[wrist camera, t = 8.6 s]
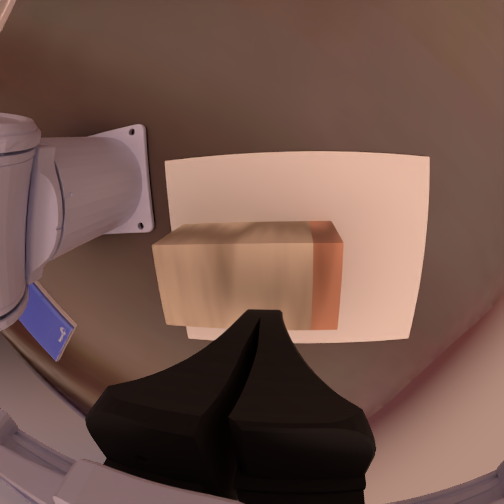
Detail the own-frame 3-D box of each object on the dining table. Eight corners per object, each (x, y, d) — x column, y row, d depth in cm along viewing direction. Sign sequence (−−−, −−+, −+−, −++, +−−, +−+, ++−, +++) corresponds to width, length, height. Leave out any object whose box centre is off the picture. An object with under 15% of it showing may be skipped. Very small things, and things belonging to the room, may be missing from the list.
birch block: (329, 291, 20) (191, 289, 22) (331, 220, 19) (183, 224, 20) (337, 329, 15) (166, 324, 17) (343, 242, 14) (151, 245, 15)
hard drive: (72, 330, 25) (4, 248, 23) (55, 363, 28) (-4, 291, 26) (80, 322, 26) (14, 244, 25) (62, 356, 29) (3, 287, 28)
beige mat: (190, 334, 24) (188, 338, 23) (168, 160, 19) (164, 161, 19) (406, 334, 21) (408, 338, 20) (425, 156, 17) (429, 157, 16)
